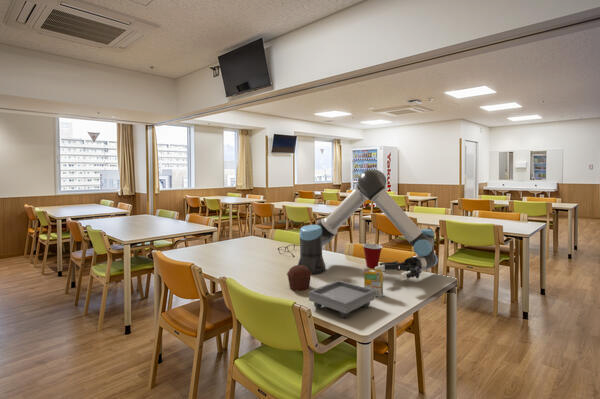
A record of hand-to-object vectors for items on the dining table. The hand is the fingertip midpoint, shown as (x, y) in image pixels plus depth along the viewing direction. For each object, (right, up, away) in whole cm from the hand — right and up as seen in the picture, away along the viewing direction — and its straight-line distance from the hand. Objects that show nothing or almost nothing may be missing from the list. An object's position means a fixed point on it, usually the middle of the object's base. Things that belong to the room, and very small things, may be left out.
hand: (387, 273), depth 150 cm
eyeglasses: (-42, -2, +70) cm, 82 cm away
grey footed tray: (-22, -9, -18) cm, 30 cm away
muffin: (-39, -8, +5) cm, 40 cm away
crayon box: (-7, -8, -5) cm, 12 cm away
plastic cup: (+1, -4, +36) cm, 36 cm away
